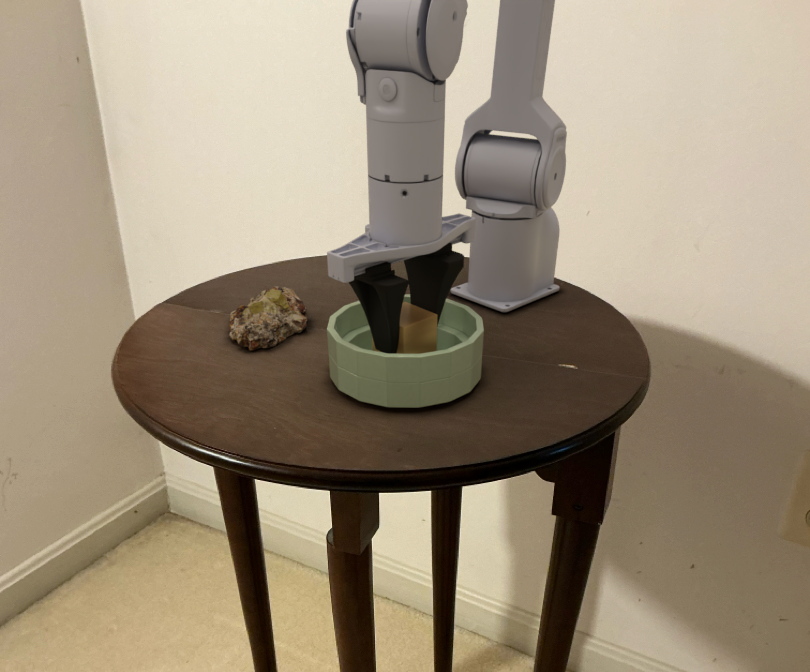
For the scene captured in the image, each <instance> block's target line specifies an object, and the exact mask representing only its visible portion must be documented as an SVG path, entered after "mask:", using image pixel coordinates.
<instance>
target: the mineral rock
mask: <svg viewBox="0 0 810 672" xmlns="http://www.w3.org/2000/svg"><path fill="white" fill-rule="evenodd" d="M307 311H308V310H307V308H306V305H305V303H304V301H303V300H301V298H300V297H299V296H298V295H297V294H296V292H295V291H294V290H293V288H287V287H285V286H282V287H281V286H275V285H274V286H273V287H272V288H267V289H264V290H261V293H258V294H257V295H253V297H251V298H250V299H249V300H248V305H244V304H240V305H239V306H238V307H236V309H235V310H233V311H231V312H230V314H229V323H228V327H229V328H228V330H229V331H230V332H229V333H228V335H229V338H230V339H231V340H232V341H236V342H237V344H238V345H239V346H240V347H242V348H243V347H245V348H248V350H249V351H250V352H253V351H256V350H258V349H269V348H272V347H276V346H277V345H278V344H281V343H283V342H284V341H285V340H286V339H287V338H288V337H290V336H292V335H294V334H300V333H302V332H303V331H306V327H307V322H308V317H307V315H308V313H307Z"/></svg>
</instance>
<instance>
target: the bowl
mask: <svg viewBox="0 0 810 672" xmlns="http://www.w3.org/2000/svg"><path fill="white" fill-rule="evenodd" d="M403 302H407V303H410V304H411V302H410V293H409V294H408V293H407V294H406V293H405V296H404V299H403ZM484 335H485V328H484V321H483V317H482V316H480V314H478V313H477V312H476V311H475V310H474V309H473V308H471V307H470V306H468V305H466V304H463V303H461V302H458V301H455V300H452V299H450V298H446V301H445V304H444V307H443V310H442V313H441V316H440V320H439V323H438V327H437V350H436V351H433V352H427V353H422V354H388V353H383V352H378V351H372V334H371V330H370V327H369V324H368V321H367V318H366V315H365V312H364V310H363V308H362V305H361V303H360V301H359V300H357V301H353V302H351V303H347V304H345V305H343V306H342V307H340V308H339V309H338V310H336V311H335V312H334V313H333V314H331V315H330V316H329V319H328V323H327V328H326V337H327V338H326V339H327V349H328V350H327V352H328V365H329V366H328V367H329V377H330V378H329V379H331V381H332V383H333V384H334V385H335V387H336V388H337V390H338V391H340V392H342V393H343V394H345V395H348V397H351V398H353V399H355V400H357V401H359V402H361V403H366V404H371V405H375V406H380V407H384V408H412V409H413V408H417V409H419V408H424V407H430V406H434V405H440V404H446V403H450V402H452V401H455V400H456V399H458V398H460V397H463V396H465V395H467V394H469V393H471V392H472V390H473V389H474V388H475V387H476V385H477V384H478V383H479V381H480V380H481V378H482V367H483V365H482V364H483V351H484V350H483V349H484Z"/></svg>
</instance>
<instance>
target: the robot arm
mask: <svg viewBox="0 0 810 672" xmlns="http://www.w3.org/2000/svg"><path fill="white" fill-rule="evenodd" d="M555 4H556V0H499V7H498V17H497V27H496V36H495V37H496V38H495V48H494V58H493V66H492V67H493V68H492V78H491V89H490V97H489V98H488V99H487V100H486V101H485V102H484V103H482V104H481V105H480V106H478V107H477V108H476V109H475V110H474V111H472V112H471V113H470V114H469V115H468V116H467V117H466V118H465V120H464V124H463V128H462V136H461V141H460V145H459V147H458V151H457V154H456V158H455V163H454V181H455V186H456V188H457V191H458V194H459V195H460V198H462V199H463V200H465V209H466V210H470V211H471V216H470V215H467V214H463V213H460V212H459V213H454V214H451V215H445V216H443V195H444V194H443V192H444V164H445V163H444V161H445V160H444V159H445V158H444V157H445V126H446V125H445V124H446V123H445V122H446V88H447V85H446V84H447V80H448V79H449V78H450V76H451V75H452V74H453V72H454V70H455V68H456V67H457V64H458V62H459V60H460V56H461V51H462V46H463V38H464V27H465V21H466V17H467V15H468V8H469V3H468V0H352V2H351V6H350V10H349V16H348V28H347V29H346V30H345V38H346V46H347V51H348V55H349V58H350V59H349V60H350V62H351V64H352V66H353V69H354V71H355V73H356V74H355V75H356V84H357V86H356V87H357V97H359V102H360V103H361V104H363V105H365V122H366V123H365V124H366V127H365V128H366V155H367V157H366V158H367V159H366V160H367V161H366V163H367V191H368V193H367V194H368V224H365V226H364V233H363V234H361V235H359V236H357V237H356V238H354V239H352V240H350V241H348V242H347V243H345V244H344V245H342V246H339V247H337V248H334V249H332V250H328V251H327V252H326V259H327V261H326V262H327V276H328V278H330V279H333V280H334V281H337V282H340V283H343V284H349V285H350V287H351V289H352V290H353V292H354V294H355V295H356V297H357V300H358V301H360V303H361V305H362V308H363V310H364V312H365V315H366V318H367V321H368V324H369V327H370V330H371V334H372V337H373V341H374V345H375V349H377V350H379V351H381V352H383V353H388V354H396V353H397V349H398V343H399V329H400V315H401V308H402V304H403V299H404V296H405V294H406V292H407V290H408V287H409V294H410V302H411V304H412V305H415V306H417V307H420V308H422V309H425V310H427V311H430V312H432V313H435V314H437V327H438V323H439V320H440V316H441V313H442V310H443V307H444V304H445V301H446V299H448V296H449V293H451V294H452V295H455V296H457V297H460V298H463V299H465V300H468V301H471V302H474V303H477V304H479V305H481V306H484V307H487V308H490V309H493V310H495V311H497V312H500V313H508V312H511V311H513V310H516V309H518V308H520V307H523V306H526V305H528V304H530V303H533V302H535V301H538V300H540V299H542V298H544V297H547V296H549V295H551V294H554V293H556V292H559V291H560V286H559V285H558V284H555V283H554V282H555V274H556V266H557V258H558V249H559V242H560V232H561V231H560V230H561V229H560V223H559V218H558V215H557V213H556V212H555V210H554V208H552V207H553V206H554V205H555V204H556V203H557V201H558V200H559V198H560V195H561V192H562V190H563V185H564V183H565V182H564V181H565V176H566V168H567V155H566V147H567V136H568V132H567V125H566V123H565V122H564V121H563V119H562V118H561V117H560V116H559V115H558V113H556V112H555V110H553V108H552V107H551V106H550V105H549V104H548V103H547V101H545V99H544V94H543V93H544V87H545V81H546V73H547V65H548V57H549V49H550V42H551V36H552V35H551V34H552V28H553V20H554V11H555V6H556V5H555ZM492 131H495V132H504V133H512V134H513V133H515V134H525V135H530V136H532V137H534V138H528V137H519V136H509V135H502V134H501V135H500V134H491V133H492ZM459 243H462V244H469V257H468V258H469V259H468V260H469V261H468V274H467V275H468V278H467V282H465V283H462V284H459V285H456V286H453V285H454V284H455V281H456V280H457V278H458V276H459V275H460V273H461V272H462V270H463V269H464V267H465V255H464V254H463V253H460V252H458V251H455V250H453V245H456V244H459ZM400 262H403V264H404V268H405V272H406V276H407V278H404V277H401V276H398V275H396V271H395V269H392V265H394V264H397V263H400Z"/></svg>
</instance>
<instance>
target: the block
mask: <svg viewBox="0 0 810 672" xmlns="http://www.w3.org/2000/svg"><path fill="white" fill-rule="evenodd" d="M436 350H437V314H435V313H432V312H430V311H427V310H425V309H422V308H420V307H417V306H415V305H412V304H410V303H407V302H403V304H402V308H401V315H400V329H399V343H398V349H397V353H396V354H422V353H427V352H433V351H436ZM372 351H378V352H381V351H379V350H377V349H375V345H374V341H373V337H372Z"/></svg>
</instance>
